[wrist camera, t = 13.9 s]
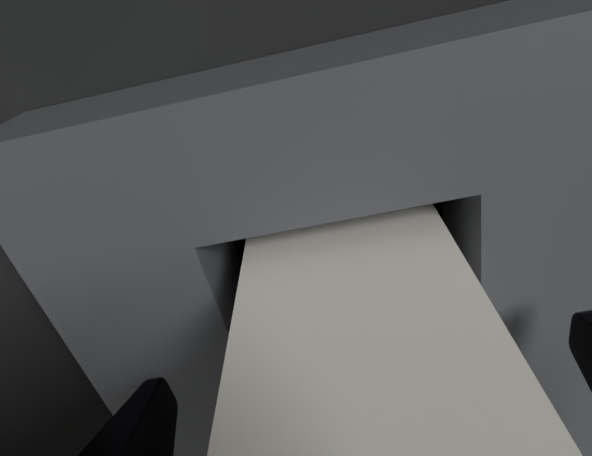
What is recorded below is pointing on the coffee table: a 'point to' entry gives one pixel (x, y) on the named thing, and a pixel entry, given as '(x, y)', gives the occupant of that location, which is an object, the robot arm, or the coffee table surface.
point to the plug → (374, 350)
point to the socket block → (311, 190)
